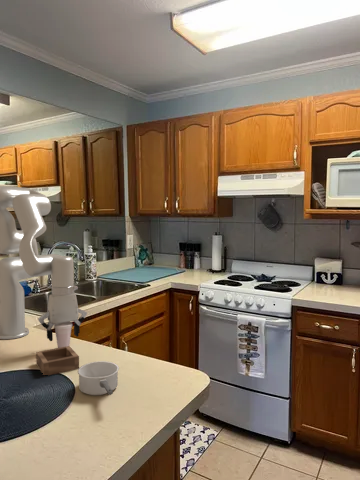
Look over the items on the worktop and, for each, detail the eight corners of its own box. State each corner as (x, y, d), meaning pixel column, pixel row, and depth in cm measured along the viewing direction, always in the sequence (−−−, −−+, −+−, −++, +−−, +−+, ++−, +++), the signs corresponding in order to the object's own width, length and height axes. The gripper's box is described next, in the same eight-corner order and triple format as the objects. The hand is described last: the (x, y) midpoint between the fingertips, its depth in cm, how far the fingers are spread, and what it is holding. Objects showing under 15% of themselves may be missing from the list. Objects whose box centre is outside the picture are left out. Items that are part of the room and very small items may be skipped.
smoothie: (75, 347, 134) (75, 310, 133) (68, 353, 127) (68, 315, 127) (58, 346, 134) (58, 309, 134) (51, 353, 128) (50, 314, 127)
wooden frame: (36, 363, 119) (36, 352, 118) (69, 357, 125) (69, 345, 124) (43, 376, 110) (43, 363, 109) (79, 368, 116) (79, 356, 115)
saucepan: (87, 418, 88) (87, 396, 87) (74, 383, 106) (74, 364, 105) (132, 408, 92) (132, 387, 92) (113, 376, 110) (113, 358, 110)
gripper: (83, 286, 137) (83, 330, 138) (35, 291, 128) (36, 339, 129) (89, 289, 131) (90, 336, 132) (39, 295, 122) (40, 345, 123)
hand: (63, 337), depth 131 cm, fingers open, 8 cm apart
